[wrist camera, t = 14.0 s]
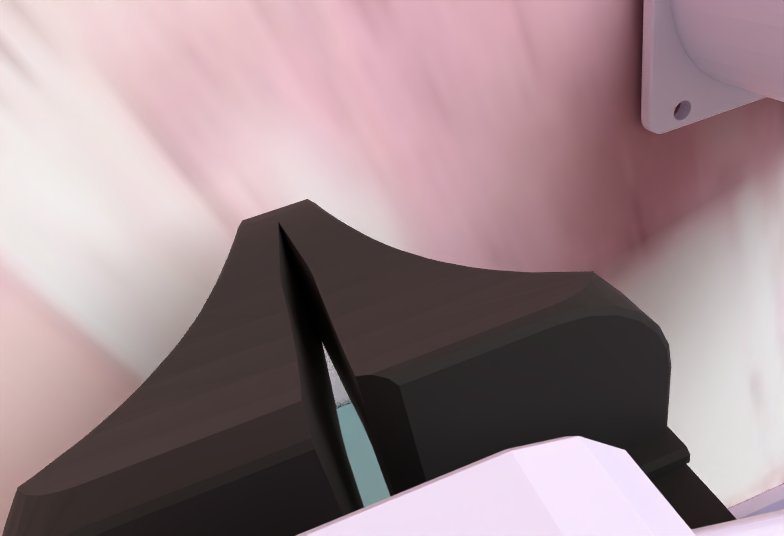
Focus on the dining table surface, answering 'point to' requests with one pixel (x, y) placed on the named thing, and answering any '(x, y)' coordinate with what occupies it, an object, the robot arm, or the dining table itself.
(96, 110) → the dining table surface
